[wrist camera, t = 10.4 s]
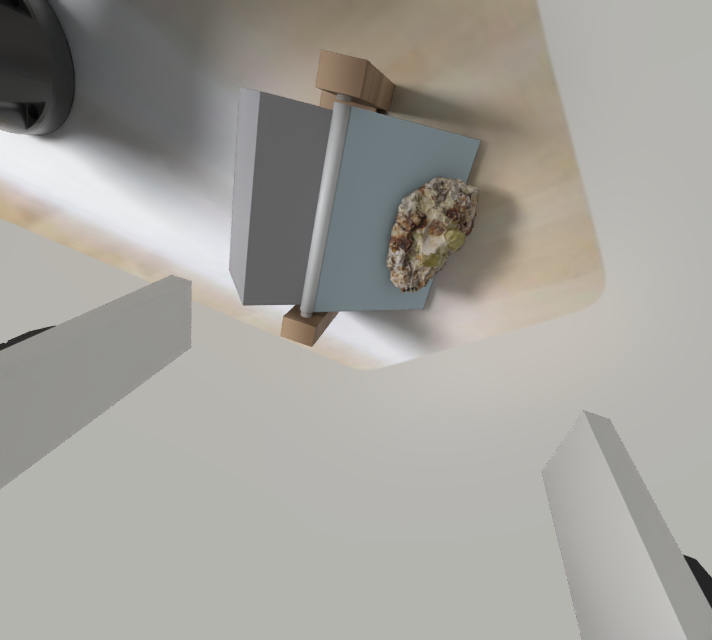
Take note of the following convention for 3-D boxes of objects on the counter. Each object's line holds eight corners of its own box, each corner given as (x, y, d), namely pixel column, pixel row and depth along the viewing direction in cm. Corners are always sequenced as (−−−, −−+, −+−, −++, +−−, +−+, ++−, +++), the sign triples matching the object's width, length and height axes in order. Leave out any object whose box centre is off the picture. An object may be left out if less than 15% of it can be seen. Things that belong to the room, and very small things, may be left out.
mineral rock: (435, 155, 27) (513, 206, 30) (416, 151, 31) (487, 197, 33) (364, 281, 30) (440, 316, 33) (355, 264, 34) (423, 296, 37)
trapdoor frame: (295, 288, 42) (249, 325, 33) (328, 69, 32) (276, 39, 23) (344, 304, 41) (312, 346, 32) (394, 84, 31) (367, 60, 22)
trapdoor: (228, 274, 35) (244, 315, 29) (240, 79, 28) (263, 82, 22) (387, 278, 44) (423, 310, 38) (429, 129, 36) (482, 140, 30)
